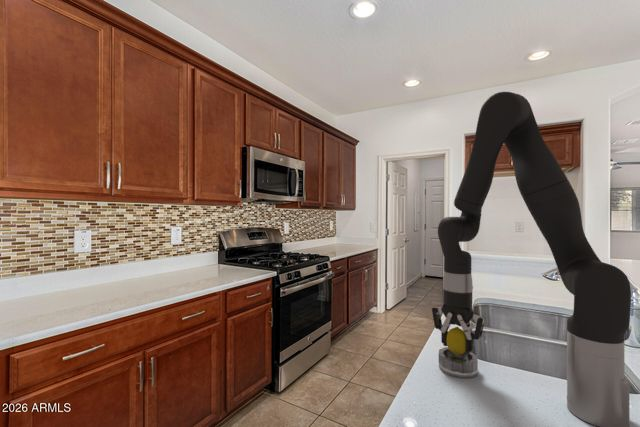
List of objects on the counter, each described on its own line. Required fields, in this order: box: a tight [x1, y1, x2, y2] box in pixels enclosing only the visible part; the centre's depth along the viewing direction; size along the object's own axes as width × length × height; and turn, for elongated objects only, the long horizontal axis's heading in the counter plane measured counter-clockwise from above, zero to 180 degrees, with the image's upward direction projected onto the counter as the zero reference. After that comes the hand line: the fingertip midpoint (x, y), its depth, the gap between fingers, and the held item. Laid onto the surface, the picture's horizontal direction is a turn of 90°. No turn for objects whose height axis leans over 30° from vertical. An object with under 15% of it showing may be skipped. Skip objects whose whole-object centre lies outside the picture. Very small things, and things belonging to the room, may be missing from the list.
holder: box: [438, 346, 479, 380], centre depth 85 cm, size 10×10×4 cm
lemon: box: [446, 326, 467, 356], centre depth 85 cm, size 6×6×8 cm
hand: (457, 348), depth 85 cm, fingers closed on lemon, 5 cm apart
